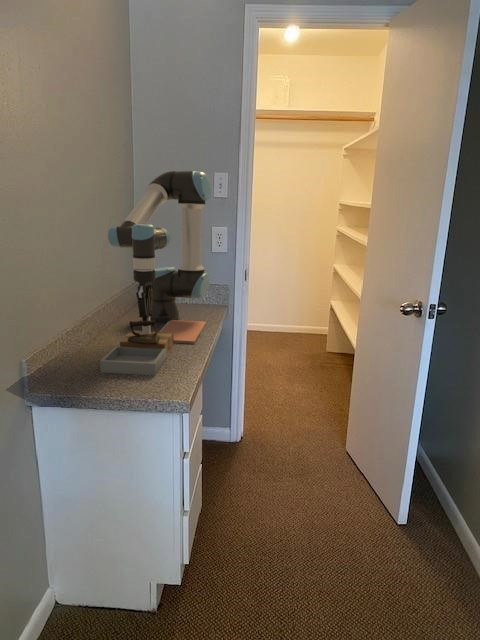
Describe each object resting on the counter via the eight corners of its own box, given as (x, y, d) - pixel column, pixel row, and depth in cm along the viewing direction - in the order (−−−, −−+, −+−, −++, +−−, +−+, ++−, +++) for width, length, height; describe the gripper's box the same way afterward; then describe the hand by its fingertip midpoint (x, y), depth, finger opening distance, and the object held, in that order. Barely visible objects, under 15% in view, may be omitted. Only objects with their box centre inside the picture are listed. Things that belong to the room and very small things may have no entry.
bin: (117, 355, 160) (116, 345, 159) (167, 358, 159) (166, 347, 158) (100, 372, 145) (99, 360, 144) (155, 375, 144) (155, 363, 143)
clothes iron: (160, 345, 158) (152, 320, 154) (128, 352, 158) (119, 327, 154) (161, 337, 164) (154, 312, 160) (131, 344, 164) (123, 319, 160)
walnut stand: (132, 342, 174) (132, 330, 172) (173, 344, 173) (173, 332, 171) (120, 355, 160) (119, 342, 159) (164, 357, 159) (164, 344, 158)
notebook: (169, 323, 201) (169, 319, 201) (206, 325, 200) (206, 321, 199) (151, 343, 175) (151, 338, 175) (194, 345, 174) (194, 340, 173)
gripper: (139, 266, 164) (141, 328, 170) (127, 272, 151) (130, 338, 158) (159, 266, 163) (161, 329, 170) (149, 273, 151) (151, 340, 157)
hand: (146, 333), depth 164 cm, fingers closed
